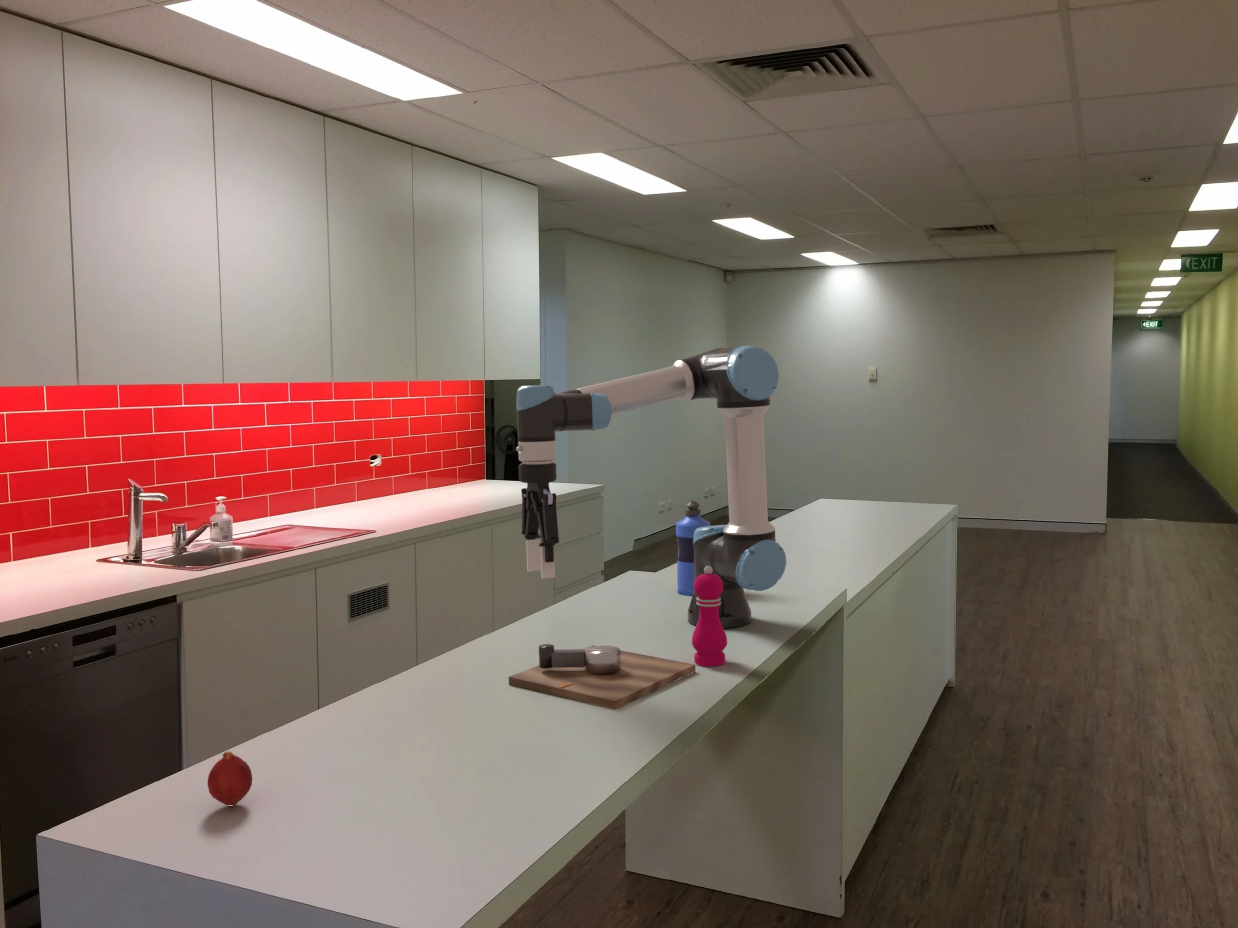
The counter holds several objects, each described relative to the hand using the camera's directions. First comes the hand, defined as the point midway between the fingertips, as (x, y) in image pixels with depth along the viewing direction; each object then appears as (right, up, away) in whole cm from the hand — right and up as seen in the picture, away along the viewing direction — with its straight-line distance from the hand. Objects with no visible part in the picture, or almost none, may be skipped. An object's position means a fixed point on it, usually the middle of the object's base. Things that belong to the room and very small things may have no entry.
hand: (540, 574), depth 196 cm
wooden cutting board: (+13, -20, -7) cm, 24 cm away
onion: (-38, -26, -61) cm, 76 cm away
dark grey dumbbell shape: (+8, -18, -7) cm, 21 cm away
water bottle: (+36, -13, +67) cm, 77 cm away
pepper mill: (+34, -18, +2) cm, 39 cm away
